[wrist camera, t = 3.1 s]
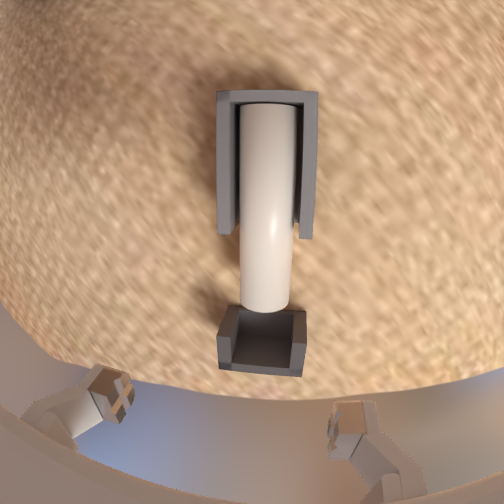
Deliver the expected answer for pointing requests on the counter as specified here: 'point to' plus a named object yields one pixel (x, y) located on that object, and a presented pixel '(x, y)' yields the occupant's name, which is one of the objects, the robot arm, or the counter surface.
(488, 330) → the counter surface
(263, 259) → the slip tube
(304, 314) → the socket
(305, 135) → the sleeve
